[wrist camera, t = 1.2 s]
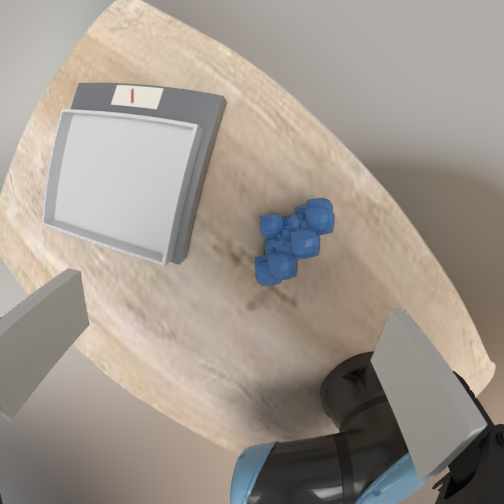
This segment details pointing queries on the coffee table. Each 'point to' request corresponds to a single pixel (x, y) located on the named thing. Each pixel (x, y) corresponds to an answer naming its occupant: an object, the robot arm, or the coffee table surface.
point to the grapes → (292, 240)
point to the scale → (131, 167)
